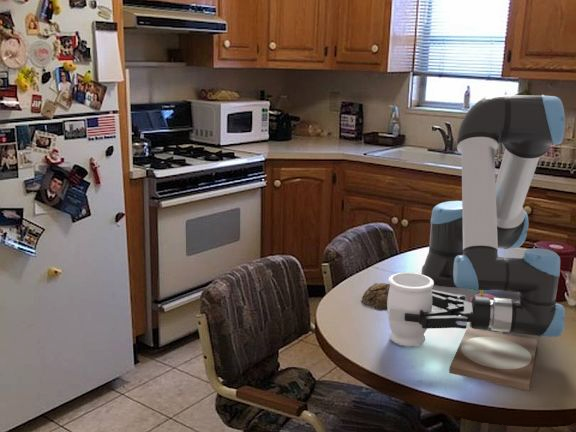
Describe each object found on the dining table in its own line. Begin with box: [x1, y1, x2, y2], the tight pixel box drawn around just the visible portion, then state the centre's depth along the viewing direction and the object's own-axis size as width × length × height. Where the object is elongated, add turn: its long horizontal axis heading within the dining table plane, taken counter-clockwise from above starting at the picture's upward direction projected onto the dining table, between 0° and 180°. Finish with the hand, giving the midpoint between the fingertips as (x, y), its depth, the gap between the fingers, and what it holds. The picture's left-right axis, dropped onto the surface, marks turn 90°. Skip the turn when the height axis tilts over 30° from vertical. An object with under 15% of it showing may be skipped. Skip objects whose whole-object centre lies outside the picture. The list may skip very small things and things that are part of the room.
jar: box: [387, 272, 435, 347], centre depth 144 cm, size 11×10×15 cm
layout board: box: [448, 326, 538, 391], centre depth 138 cm, size 22×16×2 cm
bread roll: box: [361, 282, 390, 311], centre depth 170 cm, size 13×12×5 cm
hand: (391, 303), depth 145 cm, fingers closed on jar, 10 cm apart
